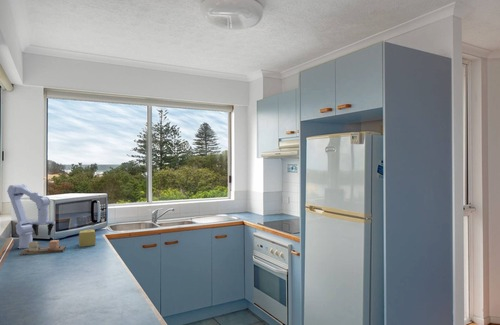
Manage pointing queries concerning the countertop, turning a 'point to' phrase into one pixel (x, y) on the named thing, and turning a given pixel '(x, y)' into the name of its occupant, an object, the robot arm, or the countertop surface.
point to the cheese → (87, 237)
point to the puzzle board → (43, 250)
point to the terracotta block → (54, 244)
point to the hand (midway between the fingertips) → (43, 235)
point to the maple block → (33, 246)
